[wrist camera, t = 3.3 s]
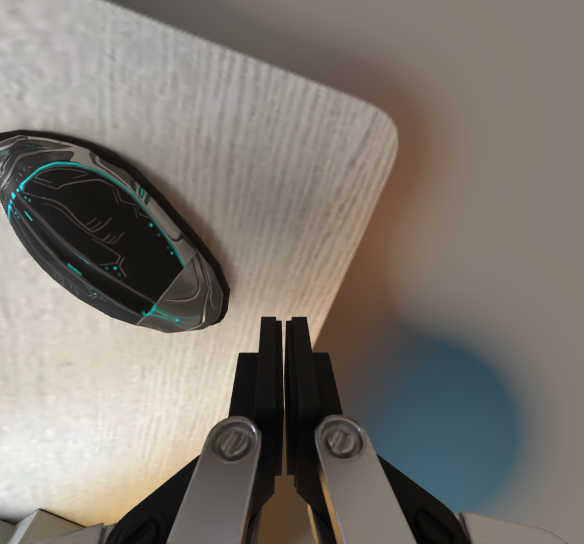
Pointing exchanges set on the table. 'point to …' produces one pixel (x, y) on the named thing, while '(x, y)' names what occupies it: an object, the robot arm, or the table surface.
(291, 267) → the table surface
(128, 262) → the computer mouse
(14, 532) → the digital clock
